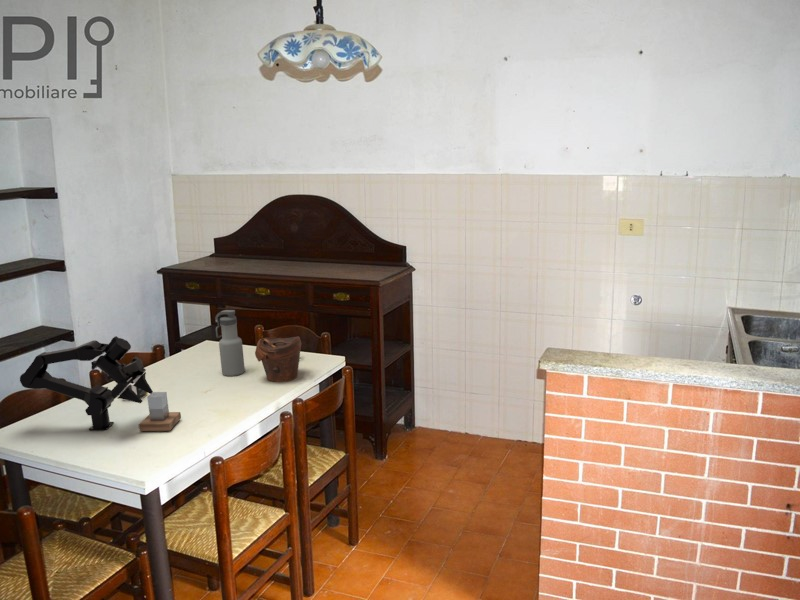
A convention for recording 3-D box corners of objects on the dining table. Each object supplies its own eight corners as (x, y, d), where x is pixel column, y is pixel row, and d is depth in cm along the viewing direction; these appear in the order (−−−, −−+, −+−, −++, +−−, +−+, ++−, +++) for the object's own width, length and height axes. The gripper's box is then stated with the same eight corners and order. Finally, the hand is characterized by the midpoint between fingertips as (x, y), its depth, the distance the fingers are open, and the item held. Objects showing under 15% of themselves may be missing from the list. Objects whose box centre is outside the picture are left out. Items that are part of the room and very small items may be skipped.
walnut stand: (170, 431, 250) (169, 424, 249) (139, 432, 250) (138, 424, 250) (181, 419, 260) (180, 411, 260) (152, 420, 261) (151, 412, 260)
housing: (164, 420, 252) (161, 396, 250) (150, 421, 253) (147, 397, 250) (169, 415, 257) (166, 391, 255) (155, 415, 257) (152, 392, 255)
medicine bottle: (138, 401, 281) (134, 372, 278) (122, 400, 282) (118, 372, 280) (148, 394, 288) (144, 366, 285) (132, 394, 289) (128, 366, 286)
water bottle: (216, 375, 307) (210, 313, 301) (228, 368, 316) (222, 307, 310) (237, 377, 304) (231, 314, 298) (249, 370, 313) (243, 308, 307)
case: (252, 375, 305) (249, 335, 301) (296, 367, 314) (293, 328, 310) (264, 388, 290) (261, 346, 286) (310, 379, 299) (308, 338, 294)
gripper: (114, 361, 241) (150, 391, 242) (137, 345, 259) (170, 373, 261) (95, 383, 243) (130, 413, 245) (119, 366, 261) (151, 393, 263)
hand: (146, 397), depth 253 cm, fingers open, 9 cm apart
